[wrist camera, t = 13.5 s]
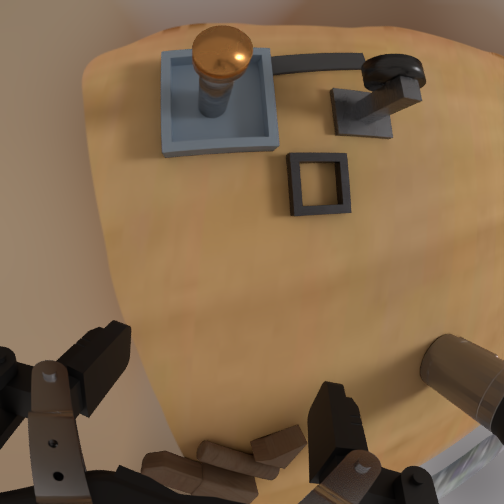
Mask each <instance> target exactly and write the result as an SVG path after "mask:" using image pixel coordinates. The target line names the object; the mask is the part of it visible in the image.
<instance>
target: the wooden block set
mask: <svg viewBox="0 0 504 504" xmlns="http://www.w3.org/2000/svg"><path fill="white" fill-rule="evenodd" d="M306 444H307V441H306V439H305V437H304V435H303V433H302V431H301V429H300V427H299V425H295V426H293V427H290V428H287V429H284V430H281V431H279V432H276V433H273V434H270V435H267V436H264V437H261V438H259V439H256V440H253V441H251V446H252V450H253V454H254V456H253V455H249V454H246V453H242V452H239V451H236V450H233V449H229V448H226V447H223V446H220V445H217V444H214V443H212V442H209V441H203V442H202V443H201V444H200V446H199V448H198V451H197V459H198V460H199V461H201V462H204V463H198V462H195V461H192V460H190V459H187V458H184V457H181V456H178V455H176V454H173V453H170V452H167V451H160V452H153V453H148V454H146V455H145V457H144V459H143V461H142V468H141V474H143V475H146V476H148V477H150V478H152V479H154V480H155V481H157V482H159V483H160V484H162V485H165V486H168V487H171V488H174V489H177V490H180V491H183V492H186V493H190V494H191V495H194V496H210V497H218V498H222V499H227V500H231V501H236V502H241V503H246V504H250V503H251V502H252V501H253V500H254V499H255V498H256V497H257V496H258V490H257V486H256V482H255V478H254V477H258V478H262V479H267V480H273V479H275V478H276V477H277V475H278V473H279V470H280V468H283V469H285V468H286V467H287V466H288V465H289V463H290V462H291V461H292V460H293V459H294V458H295V457H296V456H297V455H298V453H299V452H300V451H301V450H302V449H303V448H304V447H305V445H306ZM253 476H254V477H253Z"/></svg>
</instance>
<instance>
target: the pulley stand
mask: <svg viewBox="0 0 504 504" xmlns="http://www.w3.org/2000/svg"><path fill="white" fill-rule="evenodd" d="M361 71H362V76H363V82H364V86H365V88H366V89H368V90H370V91H373V92H372V93H369V92H362V91H354V90H346V89H337V88H332V89H331V90H330V96H331V103H332V111H333V118H334V127H335V135H338V136H356V137H370V138H382V139H391V138H393V134H392V127H391V120H390V115H391V114H393V113H396V112H398V111H400V110H402V109H405V108H407V107H409V106H412V105H414V104H416V103H418V102H421V101H422V98H421V93H420V88H422V87H423V86H424V85H425V84H426V78H425V74H424V70H423V66H422V63H421V62H420V61H419V60H418V59H417V58H415V57H412V56H409V55H404V54H385V55H379V56H376V57H373V58H370V59H368V60H367V61H365V62H364V63H363V64H362V66H361Z"/></svg>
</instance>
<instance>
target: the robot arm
mask: <svg viewBox="0 0 504 504" xmlns="http://www.w3.org/2000/svg"><path fill="white" fill-rule="evenodd" d="M130 344H131V327H130V326H128V325H126V324H123V323H120V322H118V321H115V320H113V321H112V322H110V323H109V324H108V325H107V326H106V327H105V328H101V327H98V328H95V329H93V330H90V331H88V332H87V333H86V334H85V335H84V336H83V337H82V339H80V340H78V341H77V343H76V344H74V345H73V346H72V347H71V348H70V349H69V350H67V351H66V352H65V353H64V354H63V355H62V356H61V357H60V358H59V359H58V360H57V361H53V360H45V361H41V362H39V363H37V364H36V365H35V366H30V365H26V364H23V363H19V362H17V361H16V357H15V354H14V352H13V351H11V350H10V349H9V348H6V347H1V346H0V449H1V448H2V447H3V445H4V444H5V443H6V441H7V440H8V439H9V438H10V436H11V435H12V434H13V432H14V431H15V430H16V429H17V427H18V426H19V425H20V423H21V422H22V421H23V420H24V418H25V417H26V418H28V431H29V432H28V433H29V447H30V459H31V468H32V476H33V482H34V486H30V487H26V488H21V489H17V490H12V491H7V492H1V493H0V504H246V503H241V502H236V501H231V500H227V499H222V498H218V497H210V496H194V495H183V494H178V493H176V492H174V491H172V490H171V489H169V488H167V487H165V486H164V485H162V484H160V483H159V482H157V481H155V480H154V479H152V478H150V477H148V476H146V475H143V474H141V473H138V472H135V471H133V470H130V469H128V468H126V467H123V466H121V465H119V467H118V468H117V470H116V472H114V471H106V470H92V471H87V470H86V467H85V463H84V459H83V454H82V450H81V445H80V441H79V436H78V430H77V425H76V418H77V416H78V415H79V414H82V415H84V416H86V417H88V418H89V417H90V416H91V414H92V413H93V411H94V410H95V409H96V408H97V406H98V405H99V403H100V402H101V401H102V399H103V398H104V397H105V395H106V394H107V393H108V391H109V390H110V389H111V387H112V386H113V385H114V383H115V382H116V381H117V380H118V378H119V377H120V376H121V374H122V373H123V372H124V370H125V369H126V367H127V365H128V362H129V359H130ZM420 373H421V378H422V380H423V381H424V382H425V383H426V384H427V385H429V386H430V387H432V388H433V389H434V390H436V391H437V392H438V393H439V394H441V395H442V396H443V397H445V398H446V399H447V400H449V401H450V402H451V403H453V404H454V405H456V406H457V407H458V408H460V409H461V410H462V411H464V412H465V413H466V414H468V415H469V416H470V417H472V418H473V419H474V420H476V421H477V422H478V423H480V424H481V425H483V426H484V427H485V428H487V429H488V430H489V431H491V432H492V433H493V434H494V435H496V436H497V437H498V438H499V440H500V441H501V443H502V444H503V445H504V360H502V359H500V358H498V356H497V355H496V354H494V353H492V352H490V351H488V350H486V349H484V348H482V347H480V346H478V345H476V344H474V343H472V342H470V341H468V340H466V339H464V338H462V337H457V336H455V335H452V334H446V335H443V336H441V337H440V338H438V339H437V340H436V341H435V342H434V343H433V344H432V345H431V346H430V348H429V349H428V350H427V352H426V354H425V356H424V358H423V361H422V364H421V371H420ZM308 447H309V483H316V484H319V485H317V486H316V487H315V488H314V489H313V490H312V491H311V492H310V493H309V494H308V495H307V496H306V497H305V498H304V499H303V500H302V501H300V502H299V503H298V504H439V503H438V499H437V495H436V491H435V487H434V484H433V480H432V477H431V475H430V474H429V473H428V472H427V471H426V470H425V469H423V468H421V467H418V466H410V467H407V468H405V469H404V470H403V471H402V472H401V473H399V472H395V471H392V470H389V469H385V468H383V467H381V463H380V461H379V459H378V458H377V457H376V456H375V455H374V454H372V453H370V452H369V451H368V447H367V442H366V438H365V433H364V429H363V426H362V421H361V418H360V412H359V408H358V406H357V405H356V403H355V402H354V400H353V399H352V398H349V397H346V395H345V391H344V386H343V385H342V384H338V383H332V382H327V381H325V382H324V383H323V384H322V386H321V388H320V390H319V392H318V394H317V396H316V398H315V400H314V402H313V404H312V406H311V408H310V411H309V414H308Z"/></svg>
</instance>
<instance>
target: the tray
mask: <svg viewBox="0 0 504 504" xmlns="http://www.w3.org/2000/svg"><path fill="white" fill-rule="evenodd" d="M198 91H199V75H198V74H197V73H196V72H195V70H194V68H193V64H192V49H185V50H173V51H163V52H162V54H161V137H162V153H163V155H164V157H165V158H169V157H180V156H191V155H203V154H218V153H235V152H259V151H274V150H275V149H276V148H277V147H279V134H278V123H277V112H276V102H275V92H274V82H273V73H272V64H271V55H270V48H253V55H252V58H251V60H250V63H249V65H248V68H247V70H246V72H245V73H244V74H243V75H242V76H241V77H240V78H239V79H237V80H235V83H234V86H233V89H232V92H231V95H230V99H229V102H228V105H227V108H226V111H225V112H224V114H222V115H221V116H219V117H217V118H208V117H205V116H204V115H202V114H201V113H200V111H199V109H198Z"/></svg>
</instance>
